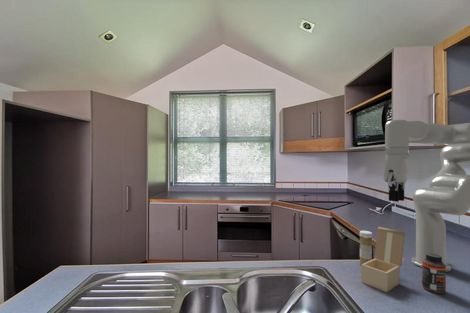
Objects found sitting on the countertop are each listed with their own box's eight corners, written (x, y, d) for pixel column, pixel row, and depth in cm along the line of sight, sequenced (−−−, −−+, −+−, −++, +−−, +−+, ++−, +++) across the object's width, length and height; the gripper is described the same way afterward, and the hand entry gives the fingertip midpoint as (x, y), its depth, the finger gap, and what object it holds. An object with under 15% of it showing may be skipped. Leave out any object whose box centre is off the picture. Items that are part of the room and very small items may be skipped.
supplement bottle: (439, 296, 75) (438, 259, 75) (418, 287, 80) (418, 252, 80) (449, 292, 77) (449, 256, 77) (428, 284, 82) (428, 250, 83)
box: (374, 274, 88) (374, 258, 89) (399, 283, 82) (399, 266, 82) (361, 282, 82) (361, 264, 83) (387, 292, 76) (387, 273, 76)
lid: (374, 258, 89) (375, 258, 89) (400, 266, 82) (401, 266, 83) (377, 226, 91) (379, 226, 92) (403, 231, 84) (404, 232, 85)
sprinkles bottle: (361, 262, 100) (361, 229, 100) (373, 265, 97) (373, 231, 97) (357, 265, 97) (358, 231, 97) (370, 268, 94) (370, 234, 94)
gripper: (394, 153, 100) (394, 198, 99) (376, 151, 90) (375, 200, 89) (416, 153, 94) (416, 200, 93) (399, 151, 84) (399, 203, 83)
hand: (396, 200), depth 91 cm, fingers open, 4 cm apart
